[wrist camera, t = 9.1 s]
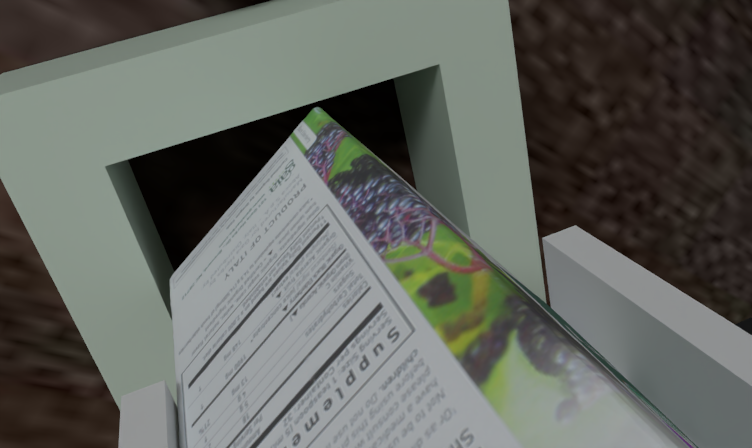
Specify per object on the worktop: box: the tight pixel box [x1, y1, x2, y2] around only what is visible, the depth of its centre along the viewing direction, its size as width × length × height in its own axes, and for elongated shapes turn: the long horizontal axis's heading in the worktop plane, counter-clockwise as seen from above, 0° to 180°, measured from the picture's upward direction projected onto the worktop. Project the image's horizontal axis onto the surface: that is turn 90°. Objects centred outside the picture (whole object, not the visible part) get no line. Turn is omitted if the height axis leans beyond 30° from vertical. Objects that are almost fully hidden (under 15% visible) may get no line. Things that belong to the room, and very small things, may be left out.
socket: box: [0, 0, 546, 411], centre depth 18 cm, size 12×12×4 cm
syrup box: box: [170, 107, 699, 448], centre depth 11 cm, size 6×6×14 cm
